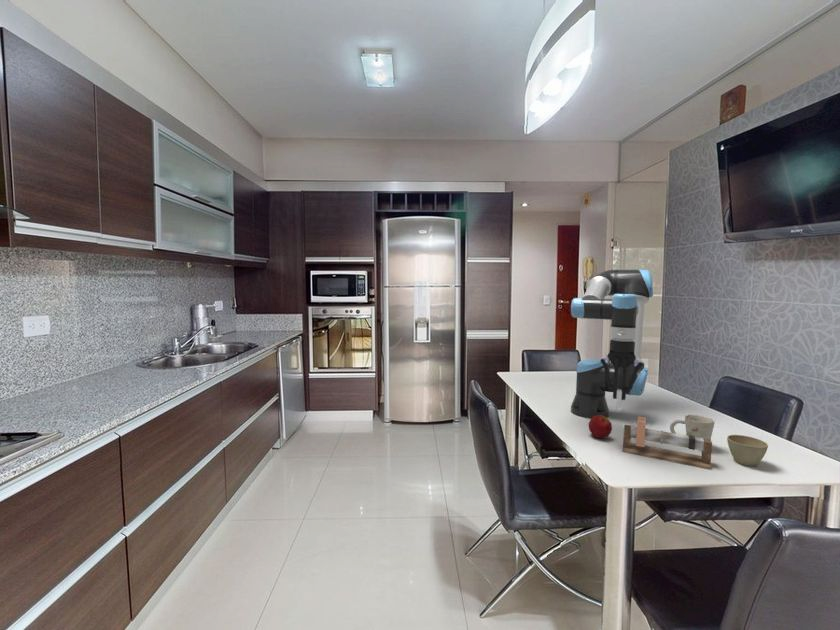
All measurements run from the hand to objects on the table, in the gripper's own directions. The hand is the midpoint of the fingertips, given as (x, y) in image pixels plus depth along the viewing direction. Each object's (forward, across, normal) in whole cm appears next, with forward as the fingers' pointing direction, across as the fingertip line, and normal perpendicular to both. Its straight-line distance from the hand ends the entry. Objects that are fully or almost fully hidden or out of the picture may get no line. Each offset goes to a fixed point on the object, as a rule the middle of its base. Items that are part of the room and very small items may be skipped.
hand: (618, 408), depth 135 cm
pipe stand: (+13, +14, 0) cm, 19 cm away
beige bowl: (+14, +36, +8) cm, 39 cm away
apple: (+14, -6, +6) cm, 16 cm away
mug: (+13, +22, +16) cm, 30 cm away
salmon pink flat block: (+11, +7, 0) cm, 13 cm away
